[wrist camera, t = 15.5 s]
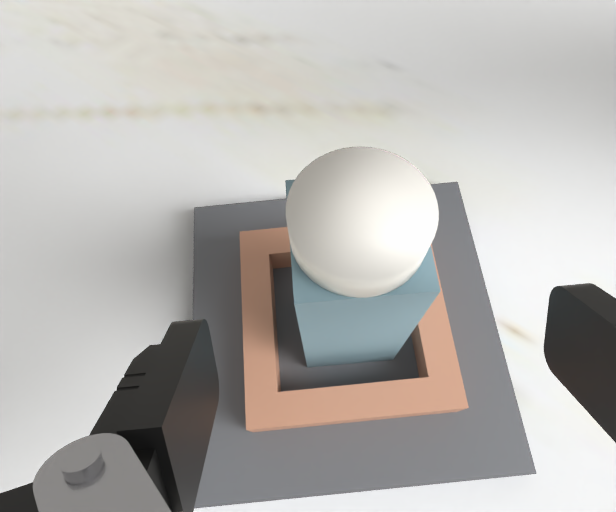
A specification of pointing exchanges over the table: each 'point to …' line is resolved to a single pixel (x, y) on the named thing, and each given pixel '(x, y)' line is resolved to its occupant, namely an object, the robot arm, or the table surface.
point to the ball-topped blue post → (360, 254)
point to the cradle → (347, 374)
